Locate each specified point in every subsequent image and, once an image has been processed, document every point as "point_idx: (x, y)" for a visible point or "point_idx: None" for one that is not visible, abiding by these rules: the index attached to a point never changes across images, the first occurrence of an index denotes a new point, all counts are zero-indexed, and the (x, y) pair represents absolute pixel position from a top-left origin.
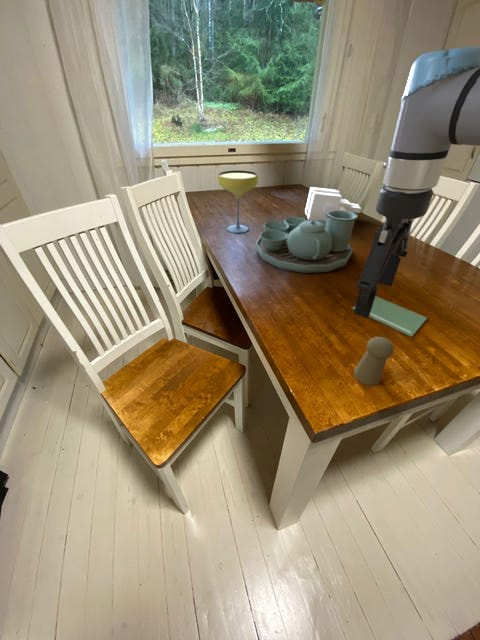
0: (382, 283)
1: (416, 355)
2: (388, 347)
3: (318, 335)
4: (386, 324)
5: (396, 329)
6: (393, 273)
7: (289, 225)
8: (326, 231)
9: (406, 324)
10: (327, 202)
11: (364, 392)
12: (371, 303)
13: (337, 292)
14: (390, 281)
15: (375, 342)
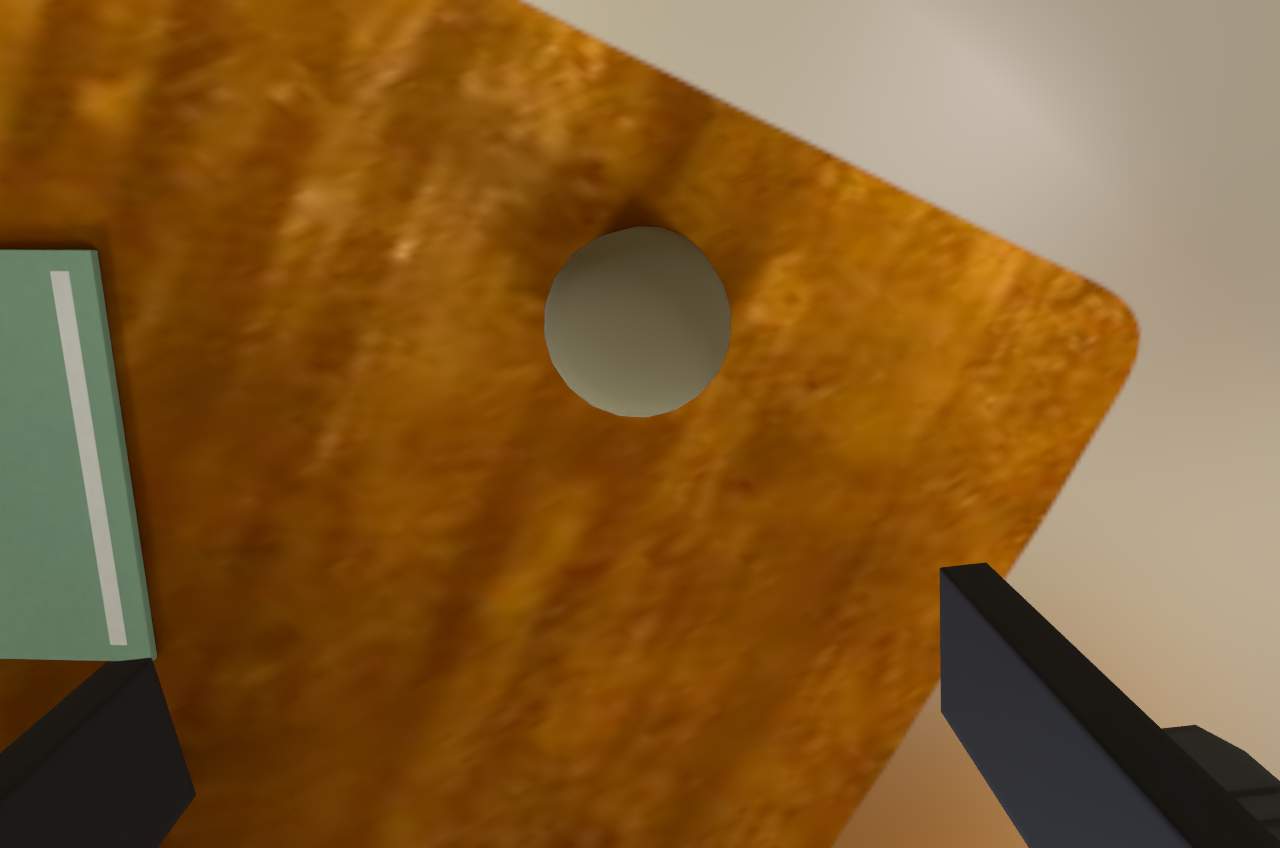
0: (177, 757)
1: (242, 156)
2: (656, 270)
3: (561, 667)
4: (118, 424)
5: (109, 354)
6: (8, 822)
7: None
8: None
9: (2, 327)
10: None
11: (772, 256)
12: (1121, 700)
13: None
14: (111, 723)
15: (677, 369)
